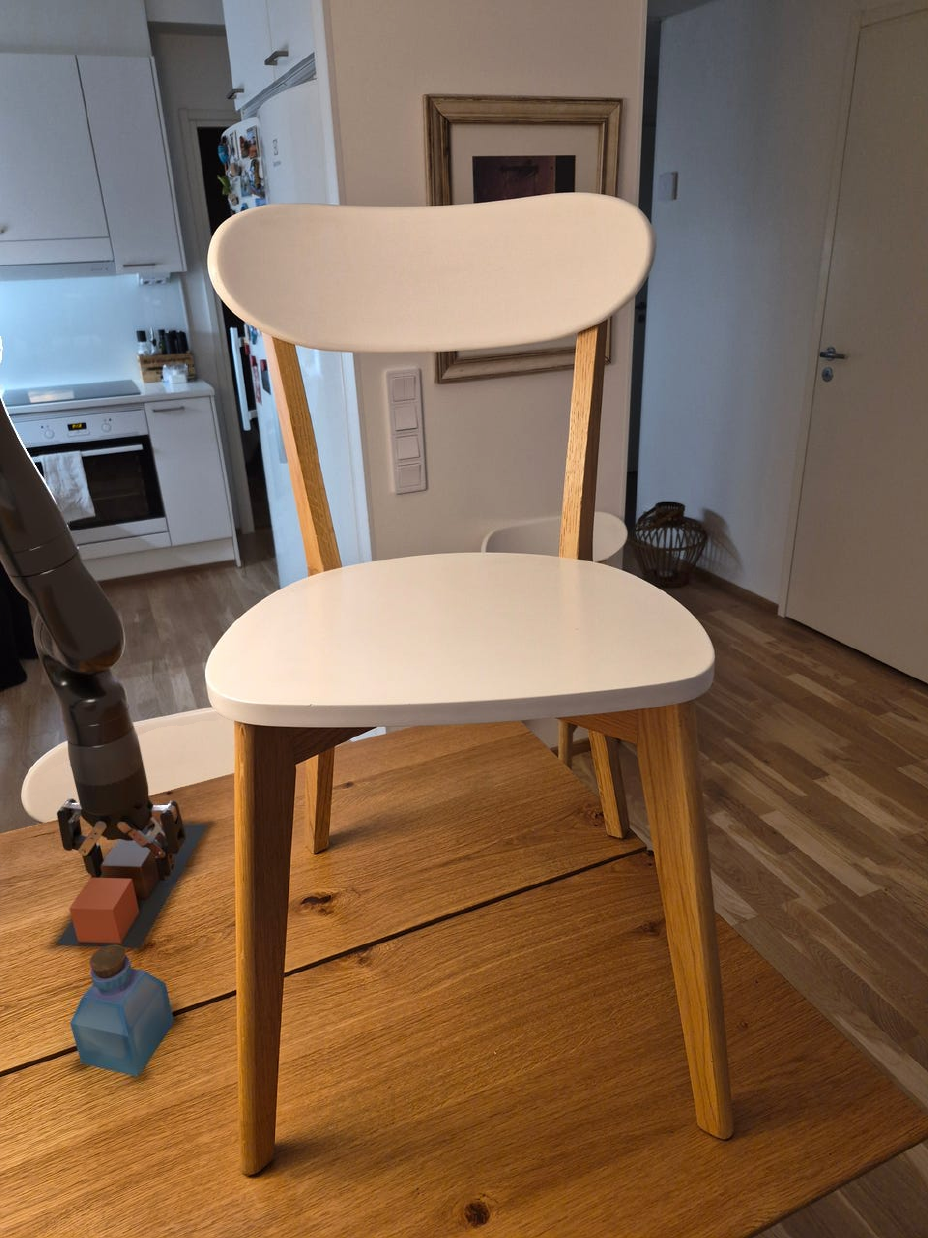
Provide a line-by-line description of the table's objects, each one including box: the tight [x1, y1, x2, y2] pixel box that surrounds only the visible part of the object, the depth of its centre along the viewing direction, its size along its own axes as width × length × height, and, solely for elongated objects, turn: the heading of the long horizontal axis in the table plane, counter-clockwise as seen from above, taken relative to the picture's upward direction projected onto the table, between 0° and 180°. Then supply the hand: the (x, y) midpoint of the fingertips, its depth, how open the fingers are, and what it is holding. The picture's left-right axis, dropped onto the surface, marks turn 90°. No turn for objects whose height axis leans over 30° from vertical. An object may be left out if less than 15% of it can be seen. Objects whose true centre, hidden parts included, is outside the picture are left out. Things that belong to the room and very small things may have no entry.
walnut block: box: [101, 839, 159, 899], centre depth 101 cm, size 5×5×5 cm
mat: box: [55, 824, 208, 949], centre depth 102 cm, size 10×22×6 cm, turn 176°
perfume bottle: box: [69, 945, 175, 1078], centre depth 79 cm, size 6×6×12 cm
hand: (132, 875), depth 101 cm, fingers open, 8 cm apart
